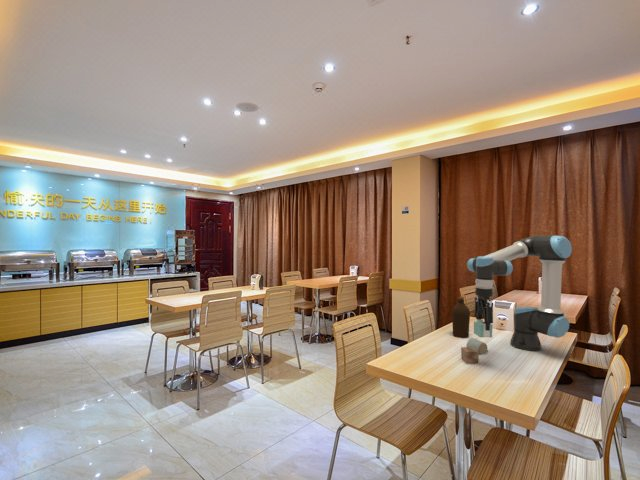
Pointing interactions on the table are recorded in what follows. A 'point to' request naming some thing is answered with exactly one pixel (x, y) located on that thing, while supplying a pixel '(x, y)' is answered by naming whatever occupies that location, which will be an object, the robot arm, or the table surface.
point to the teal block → (480, 329)
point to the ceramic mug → (477, 345)
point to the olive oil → (460, 319)
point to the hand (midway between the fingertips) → (482, 334)
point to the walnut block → (469, 355)
